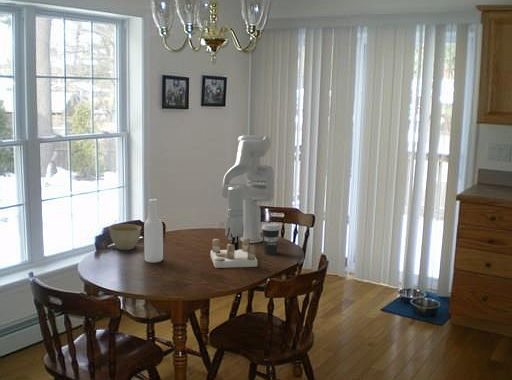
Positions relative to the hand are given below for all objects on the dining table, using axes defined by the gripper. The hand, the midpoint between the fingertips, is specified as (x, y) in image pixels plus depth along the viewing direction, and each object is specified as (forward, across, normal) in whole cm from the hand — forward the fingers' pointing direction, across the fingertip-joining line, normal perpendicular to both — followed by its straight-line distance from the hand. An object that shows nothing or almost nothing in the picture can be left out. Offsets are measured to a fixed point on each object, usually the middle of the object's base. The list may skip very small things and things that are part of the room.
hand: (234, 249), depth 283 cm
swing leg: (+3, +4, -3) cm, 6 cm away
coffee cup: (+7, -24, +7) cm, 26 cm away
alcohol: (+6, +19, -34) cm, 40 cm away
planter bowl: (+6, +9, -61) cm, 62 cm away
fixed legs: (+3, -1, -2) cm, 4 cm away
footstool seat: (+6, -1, -2) cm, 6 cm away
